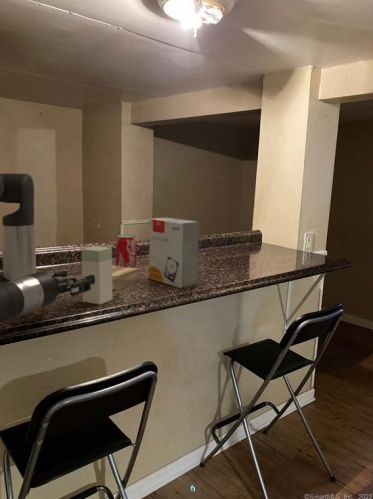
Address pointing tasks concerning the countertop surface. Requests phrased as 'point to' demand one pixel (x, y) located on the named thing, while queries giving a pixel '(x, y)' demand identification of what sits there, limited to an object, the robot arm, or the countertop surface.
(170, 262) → the hard drive box
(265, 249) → the countertop surface
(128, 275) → the podium
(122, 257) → the soda can
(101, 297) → the carton
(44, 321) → the countertop surface
